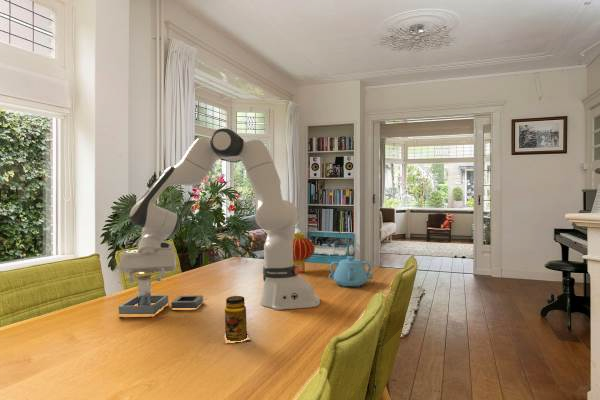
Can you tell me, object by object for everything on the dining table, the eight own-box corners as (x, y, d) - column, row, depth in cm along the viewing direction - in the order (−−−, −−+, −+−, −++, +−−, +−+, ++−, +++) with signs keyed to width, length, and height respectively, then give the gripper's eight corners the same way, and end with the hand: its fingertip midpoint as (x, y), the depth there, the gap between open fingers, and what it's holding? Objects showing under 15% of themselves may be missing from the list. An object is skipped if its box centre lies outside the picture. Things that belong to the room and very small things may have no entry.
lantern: (278, 270, 208) (277, 214, 207) (309, 267, 213) (308, 213, 212) (287, 276, 192) (285, 216, 191) (319, 274, 197) (318, 215, 196)
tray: (168, 305, 146) (168, 295, 146) (153, 317, 132) (153, 306, 132) (137, 305, 147) (136, 295, 146) (119, 317, 133) (118, 306, 132)
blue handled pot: (371, 280, 181) (371, 253, 180) (375, 291, 161) (375, 261, 161) (329, 280, 183) (328, 253, 182) (328, 291, 163) (327, 261, 162)
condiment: (225, 345, 108) (224, 302, 107) (222, 334, 116) (221, 294, 115) (251, 341, 110) (250, 299, 109) (246, 331, 118) (245, 292, 117)
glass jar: (156, 306, 142) (155, 270, 142) (149, 311, 136) (148, 273, 136) (140, 306, 142) (139, 270, 142) (132, 311, 136) (131, 274, 136)
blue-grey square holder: (203, 303, 149) (202, 295, 148) (196, 310, 140) (196, 302, 139) (179, 303, 149) (179, 295, 149) (171, 310, 140) (171, 302, 140)
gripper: (120, 246, 146) (112, 277, 137) (176, 244, 149) (172, 274, 140) (123, 256, 150) (116, 287, 141) (178, 253, 154) (175, 283, 144)
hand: (145, 280), depth 140 cm, fingers open, 8 cm apart
